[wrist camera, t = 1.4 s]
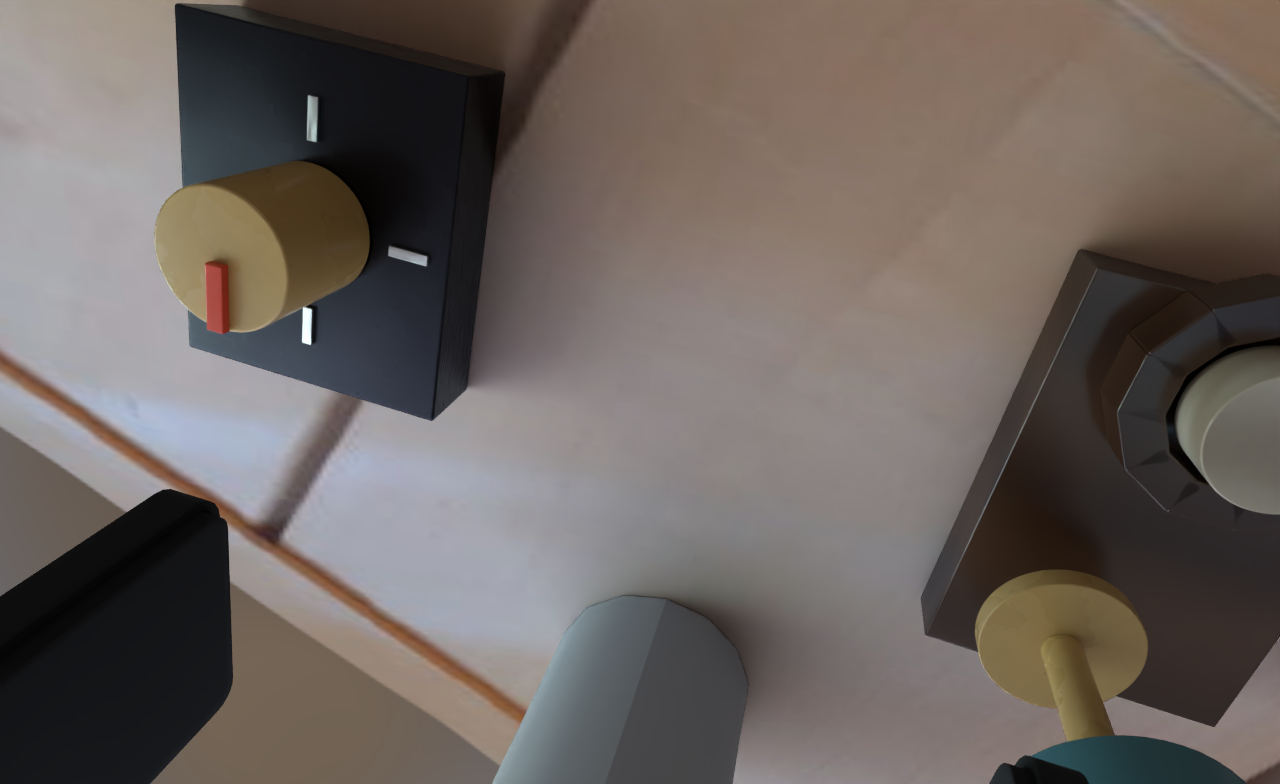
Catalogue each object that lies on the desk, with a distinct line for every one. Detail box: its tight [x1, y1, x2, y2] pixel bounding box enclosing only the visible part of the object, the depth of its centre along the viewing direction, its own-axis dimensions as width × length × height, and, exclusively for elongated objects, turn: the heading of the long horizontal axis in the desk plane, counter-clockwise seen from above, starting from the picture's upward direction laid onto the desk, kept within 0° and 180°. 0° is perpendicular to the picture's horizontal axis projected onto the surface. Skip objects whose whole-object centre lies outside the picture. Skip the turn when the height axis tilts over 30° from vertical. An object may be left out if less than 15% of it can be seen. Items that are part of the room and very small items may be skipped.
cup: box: [492, 595, 748, 784], centre depth 32 cm, size 8×8×10 cm
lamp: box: [975, 569, 1246, 784], centre depth 21 cm, size 6×6×12 cm
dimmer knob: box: [154, 161, 370, 334], centre depth 26 cm, size 4×4×5 cm
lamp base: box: [921, 249, 1280, 727], centre depth 26 cm, size 15×10×4 cm, turn 168°
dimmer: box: [175, 3, 505, 421], centre depth 29 cm, size 12×10×3 cm
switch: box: [1174, 345, 1280, 514], centre depth 22 cm, size 4×4×2 cm
